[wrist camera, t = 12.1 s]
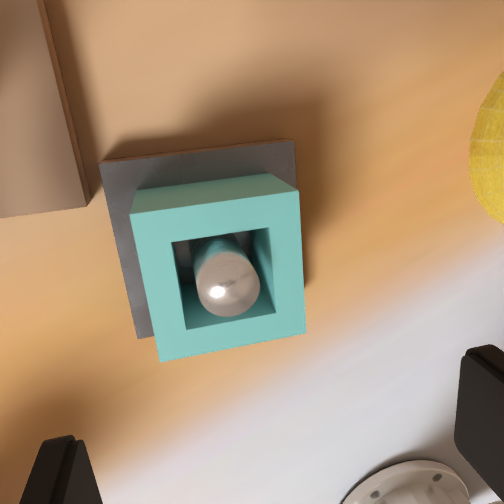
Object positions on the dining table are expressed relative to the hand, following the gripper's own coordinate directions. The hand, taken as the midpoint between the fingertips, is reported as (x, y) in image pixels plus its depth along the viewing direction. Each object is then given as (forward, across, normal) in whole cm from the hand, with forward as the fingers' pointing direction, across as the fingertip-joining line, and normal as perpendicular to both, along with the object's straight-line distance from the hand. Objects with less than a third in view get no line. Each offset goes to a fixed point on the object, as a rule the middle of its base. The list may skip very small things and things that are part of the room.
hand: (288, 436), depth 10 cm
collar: (+14, 0, -1) cm, 14 cm away
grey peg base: (+15, 0, -1) cm, 15 cm away
